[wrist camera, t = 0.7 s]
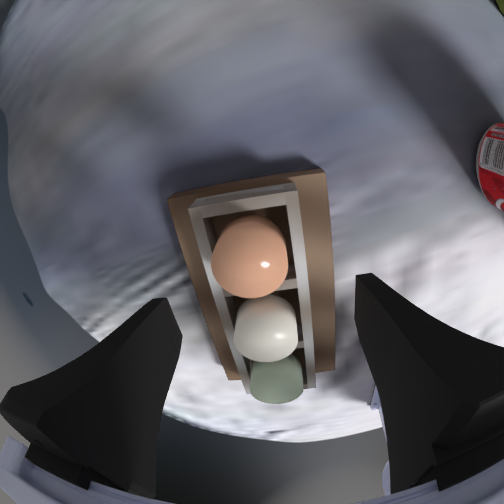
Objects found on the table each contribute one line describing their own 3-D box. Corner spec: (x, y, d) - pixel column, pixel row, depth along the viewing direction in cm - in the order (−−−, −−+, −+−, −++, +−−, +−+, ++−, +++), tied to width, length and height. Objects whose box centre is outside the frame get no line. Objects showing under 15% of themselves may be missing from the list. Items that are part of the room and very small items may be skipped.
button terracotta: (290, 271, 17) (292, 293, 15) (226, 280, 18) (221, 301, 16) (280, 209, 16) (282, 224, 14) (210, 221, 16) (202, 237, 14)
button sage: (303, 379, 22) (304, 401, 20) (256, 384, 23) (254, 405, 20) (299, 348, 20) (301, 371, 18) (247, 353, 21) (244, 376, 19)
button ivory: (298, 335, 20) (300, 358, 18) (243, 341, 20) (240, 364, 18) (292, 290, 18) (295, 313, 16) (231, 297, 18) (226, 320, 16)
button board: (332, 358, 25) (337, 386, 22) (230, 368, 26) (226, 396, 23) (321, 168, 17) (332, 179, 14) (173, 193, 19) (155, 209, 16)
